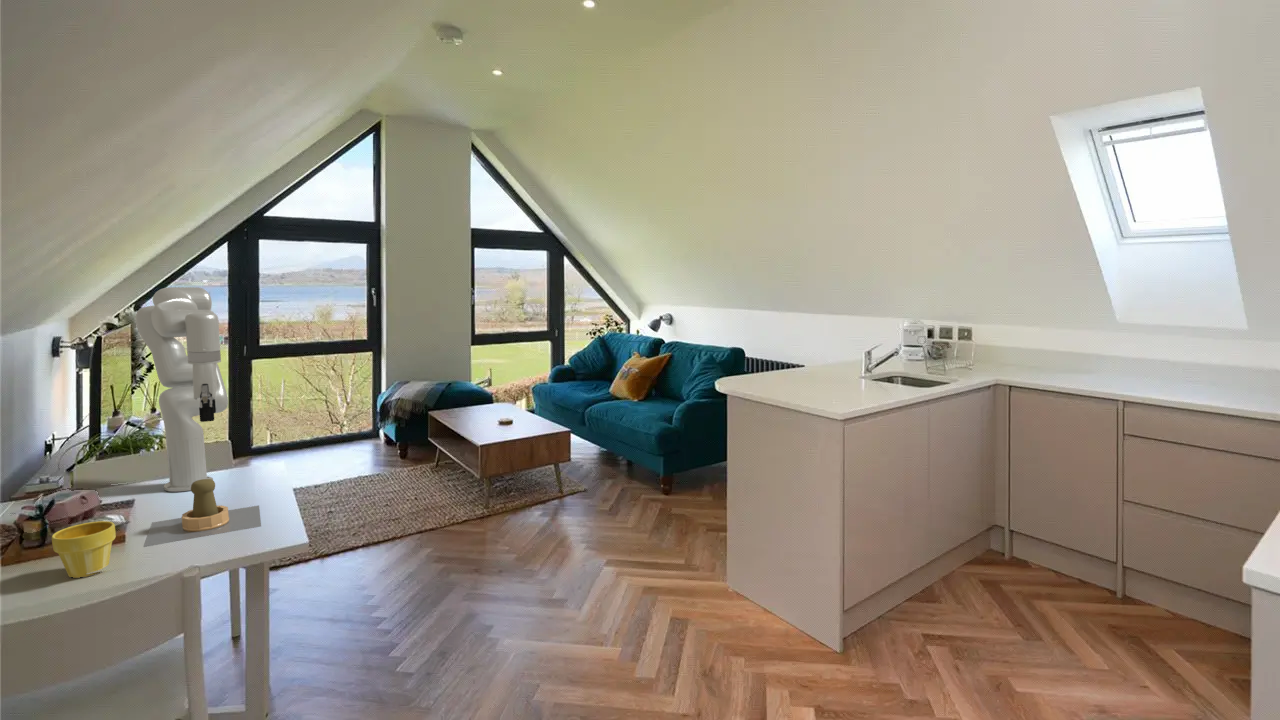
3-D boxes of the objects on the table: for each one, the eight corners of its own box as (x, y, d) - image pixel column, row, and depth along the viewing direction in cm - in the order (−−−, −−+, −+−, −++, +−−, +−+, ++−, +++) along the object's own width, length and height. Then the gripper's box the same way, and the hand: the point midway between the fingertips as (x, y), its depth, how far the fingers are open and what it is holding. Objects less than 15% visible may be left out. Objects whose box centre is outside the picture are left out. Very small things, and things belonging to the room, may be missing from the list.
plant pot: (52, 572, 136) (47, 530, 135) (113, 557, 144) (109, 517, 142) (60, 587, 129) (55, 543, 128) (123, 570, 137) (119, 528, 136)
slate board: (152, 526, 162) (152, 522, 162) (259, 508, 175) (259, 505, 175) (143, 550, 147) (143, 546, 147) (261, 529, 160) (261, 526, 160)
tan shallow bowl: (184, 522, 162) (183, 509, 162) (229, 514, 168) (228, 502, 167) (181, 534, 154) (180, 522, 154) (229, 526, 159) (228, 514, 159)
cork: (205, 526, 158) (201, 484, 156) (185, 524, 159) (182, 482, 158) (225, 517, 163) (222, 477, 162) (206, 515, 165) (203, 475, 163)
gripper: (190, 353, 176) (194, 411, 178) (184, 362, 161) (189, 425, 164) (221, 352, 180) (225, 409, 182) (219, 361, 165) (223, 423, 168)
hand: (208, 417), depth 173 cm, fingers open, 9 cm apart
